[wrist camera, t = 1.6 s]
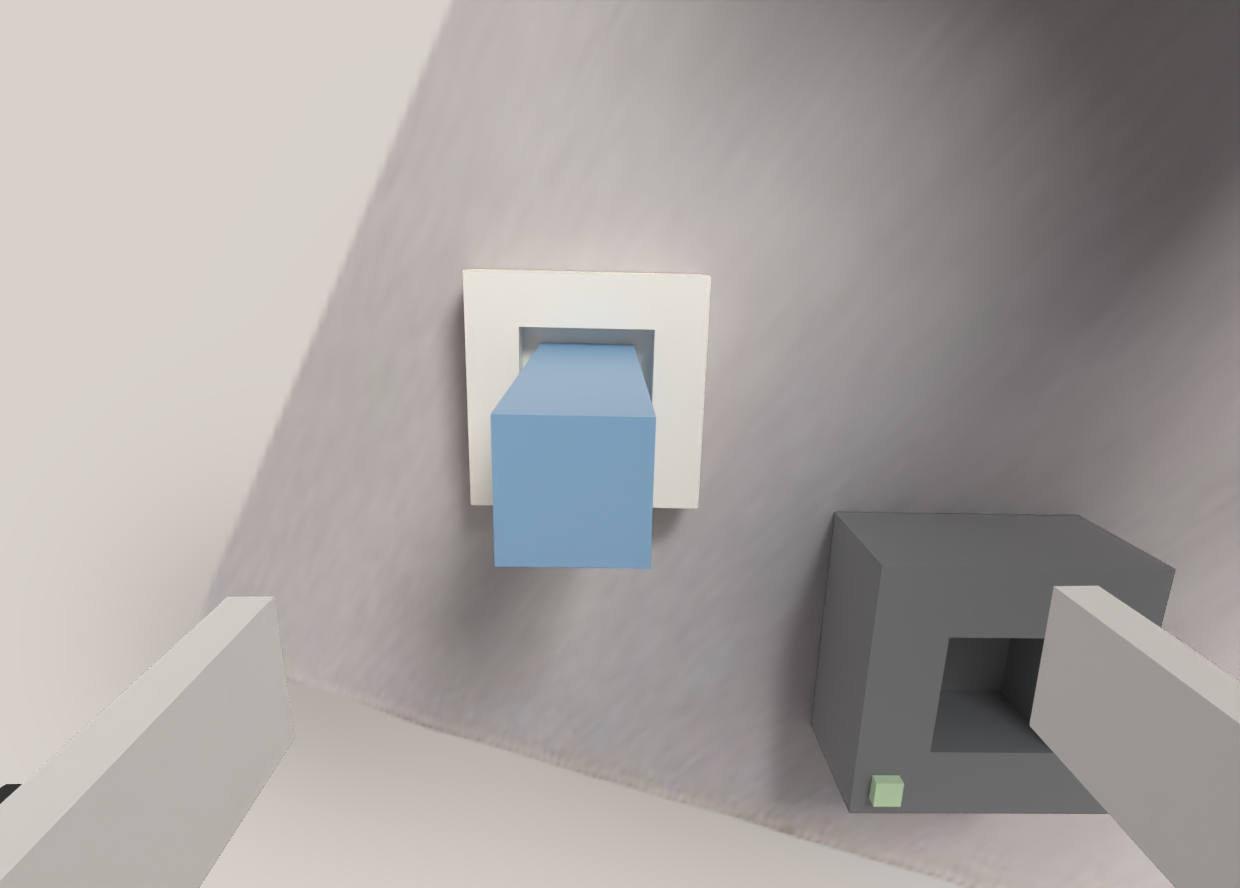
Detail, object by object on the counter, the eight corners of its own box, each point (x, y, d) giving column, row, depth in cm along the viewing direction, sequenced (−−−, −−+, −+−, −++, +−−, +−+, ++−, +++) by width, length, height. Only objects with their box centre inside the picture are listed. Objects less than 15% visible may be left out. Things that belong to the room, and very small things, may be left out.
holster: (473, 268, 30) (462, 270, 28) (702, 274, 31) (711, 276, 28) (480, 486, 33) (470, 505, 31) (691, 490, 33) (698, 508, 31)
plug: (541, 342, 30) (490, 414, 17) (633, 344, 30) (656, 417, 17) (542, 431, 31) (494, 566, 18) (631, 433, 32) (650, 568, 18)
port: (834, 511, 34) (887, 571, 28) (1078, 515, 34) (1185, 574, 28) (811, 725, 37) (853, 821, 31) (1034, 726, 37) (1121, 822, 31)
